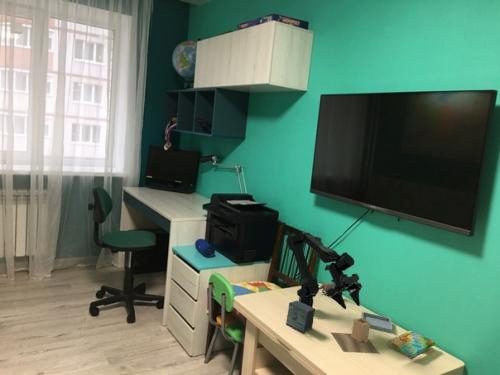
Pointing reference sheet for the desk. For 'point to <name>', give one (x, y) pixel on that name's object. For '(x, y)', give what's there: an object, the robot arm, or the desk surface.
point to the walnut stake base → (353, 344)
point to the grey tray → (378, 322)
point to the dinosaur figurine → (326, 287)
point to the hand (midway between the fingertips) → (352, 307)
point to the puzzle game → (411, 344)
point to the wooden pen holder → (360, 330)
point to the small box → (300, 316)
